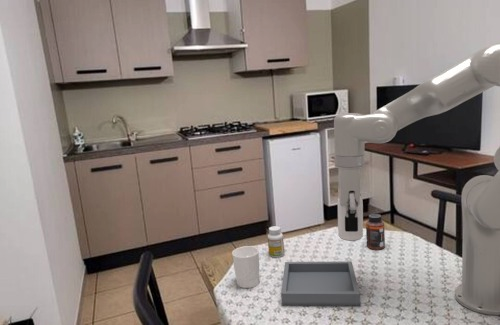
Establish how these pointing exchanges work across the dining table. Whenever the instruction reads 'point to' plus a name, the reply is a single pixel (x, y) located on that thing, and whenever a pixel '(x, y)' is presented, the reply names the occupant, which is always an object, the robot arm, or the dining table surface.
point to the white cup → (246, 266)
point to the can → (341, 222)
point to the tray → (320, 284)
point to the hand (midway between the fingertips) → (350, 225)
